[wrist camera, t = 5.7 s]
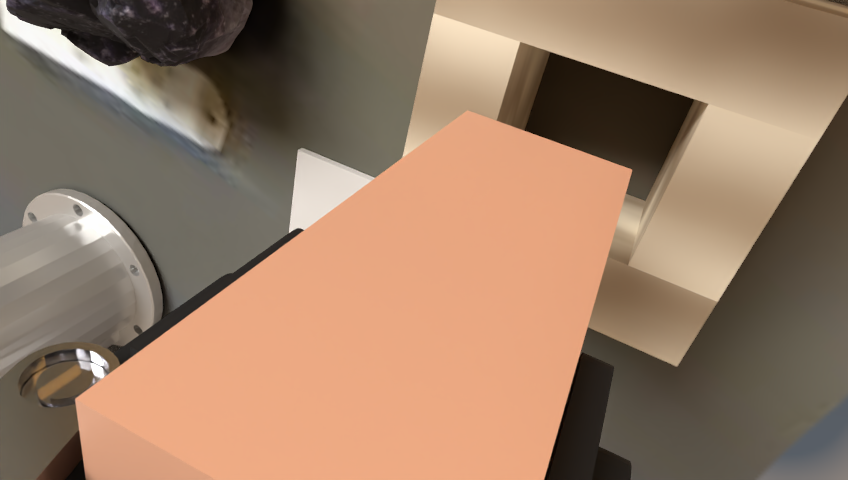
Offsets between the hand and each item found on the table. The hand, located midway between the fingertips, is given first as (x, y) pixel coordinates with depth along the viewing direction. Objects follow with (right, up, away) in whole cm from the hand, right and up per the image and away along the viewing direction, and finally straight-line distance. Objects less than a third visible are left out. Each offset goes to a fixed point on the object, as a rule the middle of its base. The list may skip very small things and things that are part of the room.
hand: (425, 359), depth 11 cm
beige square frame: (+7, +7, +14) cm, 17 cm away
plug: (+3, +3, +6) cm, 7 cm away
